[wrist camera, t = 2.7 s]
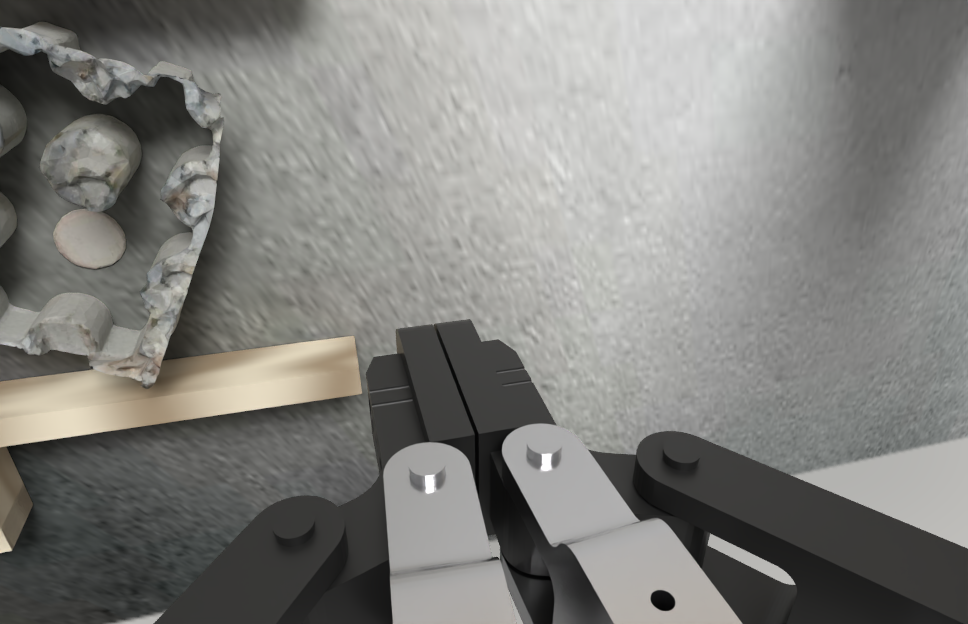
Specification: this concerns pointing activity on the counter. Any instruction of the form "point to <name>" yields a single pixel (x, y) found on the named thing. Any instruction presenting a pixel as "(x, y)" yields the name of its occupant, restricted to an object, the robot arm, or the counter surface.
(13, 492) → the box
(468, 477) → the robot arm
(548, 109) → the counter surface
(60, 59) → the egg carton
